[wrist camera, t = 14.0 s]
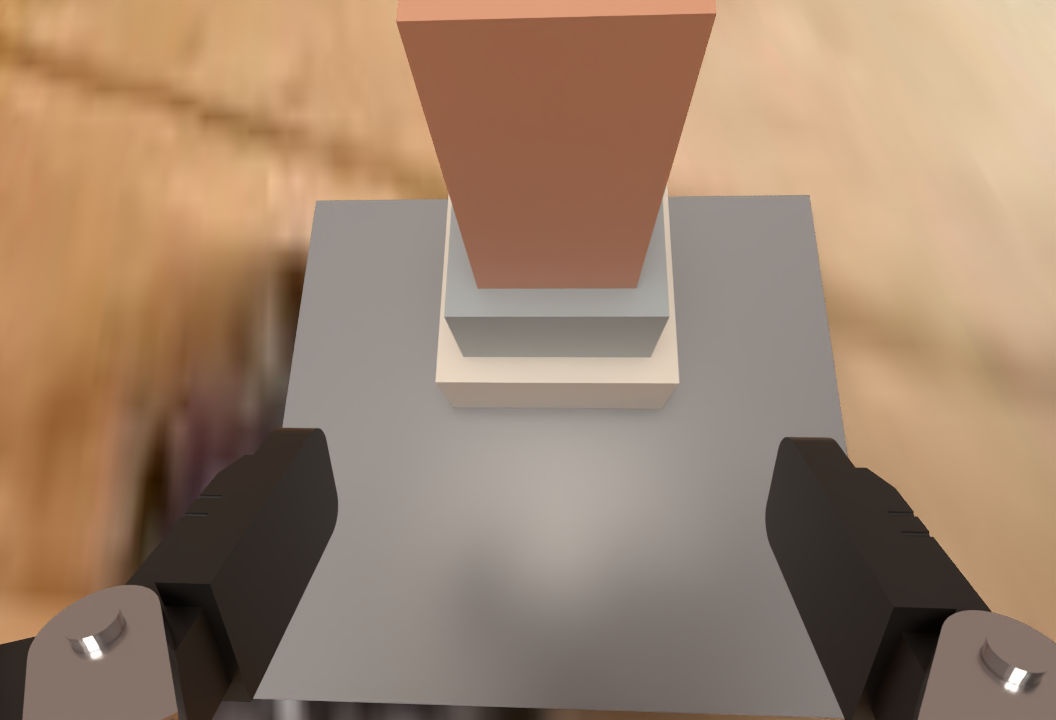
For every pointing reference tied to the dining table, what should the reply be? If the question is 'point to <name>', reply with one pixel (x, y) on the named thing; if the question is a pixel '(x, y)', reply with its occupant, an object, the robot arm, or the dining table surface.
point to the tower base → (560, 373)
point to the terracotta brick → (555, 127)
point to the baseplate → (558, 487)
